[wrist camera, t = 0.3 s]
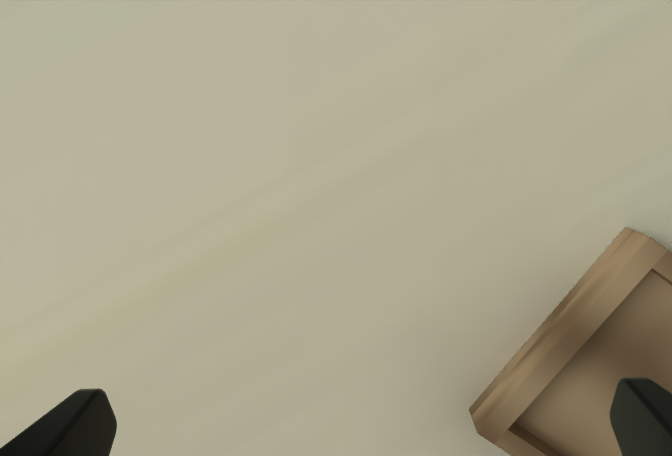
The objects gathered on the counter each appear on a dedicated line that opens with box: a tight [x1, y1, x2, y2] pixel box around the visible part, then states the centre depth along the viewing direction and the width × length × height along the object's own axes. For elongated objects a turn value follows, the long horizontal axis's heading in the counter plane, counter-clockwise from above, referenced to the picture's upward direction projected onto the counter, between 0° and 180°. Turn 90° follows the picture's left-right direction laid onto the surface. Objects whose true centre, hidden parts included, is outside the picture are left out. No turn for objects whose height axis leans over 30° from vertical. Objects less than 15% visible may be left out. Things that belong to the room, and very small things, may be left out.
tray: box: [469, 227, 672, 456], centre depth 24 cm, size 12×12×2 cm
